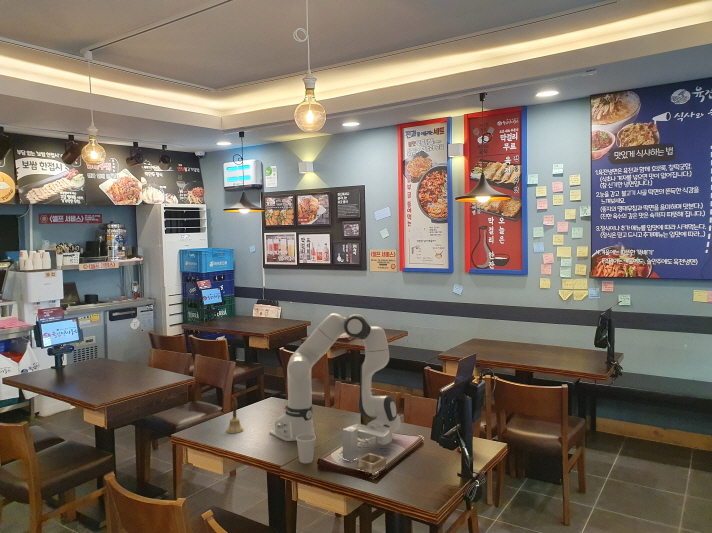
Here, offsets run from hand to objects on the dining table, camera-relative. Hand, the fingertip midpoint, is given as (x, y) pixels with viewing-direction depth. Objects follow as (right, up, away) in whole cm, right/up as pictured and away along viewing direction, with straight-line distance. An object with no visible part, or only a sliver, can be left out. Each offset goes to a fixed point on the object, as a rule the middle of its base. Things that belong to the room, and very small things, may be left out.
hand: (358, 439), depth 224 cm
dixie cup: (-22, -7, -6) cm, 24 cm away
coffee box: (+6, -6, +39) cm, 39 cm away
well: (+5, -7, -14) cm, 17 cm away
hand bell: (-60, -6, +30) cm, 67 cm away
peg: (-3, -7, -4) cm, 9 cm away
